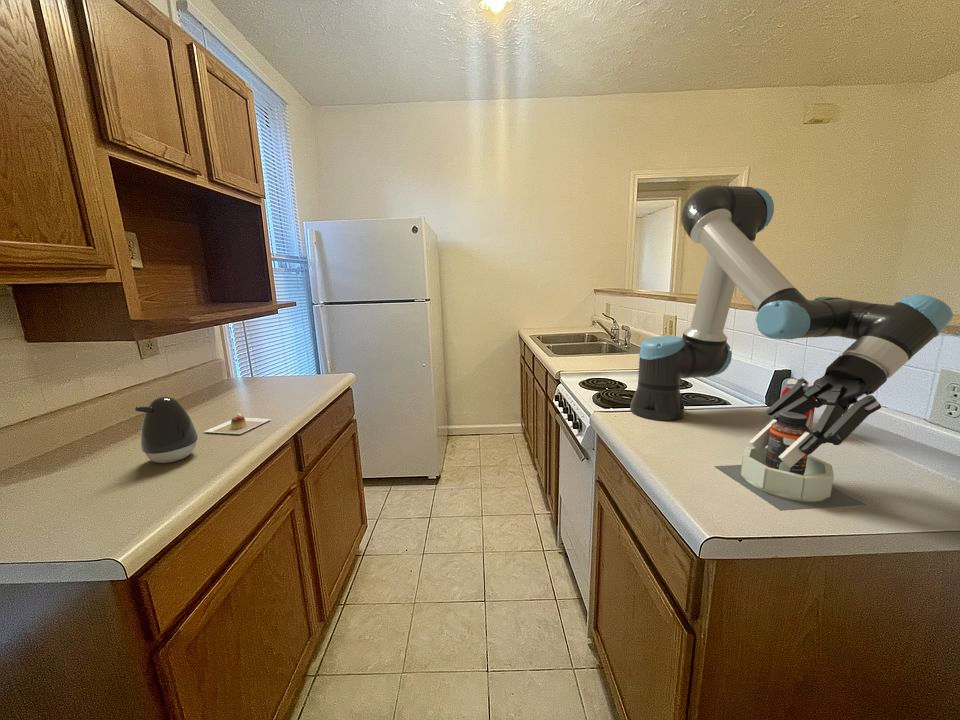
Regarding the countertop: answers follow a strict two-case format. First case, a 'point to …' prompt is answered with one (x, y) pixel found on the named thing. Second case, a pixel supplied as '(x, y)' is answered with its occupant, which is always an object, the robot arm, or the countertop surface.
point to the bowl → (788, 478)
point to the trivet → (834, 500)
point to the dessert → (237, 424)
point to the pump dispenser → (167, 431)
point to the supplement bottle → (786, 441)
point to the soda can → (808, 414)
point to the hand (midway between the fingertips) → (768, 454)
